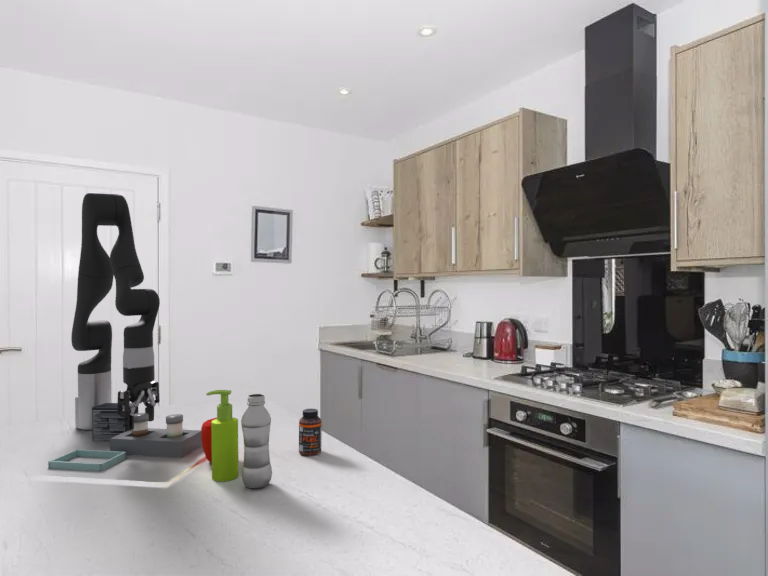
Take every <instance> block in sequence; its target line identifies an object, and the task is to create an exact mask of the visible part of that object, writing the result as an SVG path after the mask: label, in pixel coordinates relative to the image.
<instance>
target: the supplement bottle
mask: <svg viewBox="0 0 768 576" xmlns="http://www.w3.org/2000/svg"><path fill="white" fill-rule="evenodd" d="M322 425H323V424H322V419H321V418H320V416H319V410H318V409H317V408H305V409H303V410H302V417H301V418H300V419H299V420H298V454H300V455H301V456H305V457H313V456H317V455H319V454H320V453H322V435H323V434H322V430H323V429H322V428H323V427H322Z"/></svg>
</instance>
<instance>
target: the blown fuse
mask: <svg viewBox="0 0 768 576" xmlns="http://www.w3.org/2000/svg"><path fill="white" fill-rule="evenodd" d="M133 415H134V429H133V430H132V437H144V436H146V435H148V428H149V421H148V420H149V414H148V413H145V412H138V413H137V414H133Z"/></svg>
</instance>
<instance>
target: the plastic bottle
mask: <svg viewBox="0 0 768 576" xmlns="http://www.w3.org/2000/svg"><path fill="white" fill-rule="evenodd" d="M265 399H266V397H265V394H264V393H254V394H253V393H252V394H248V395H247V403H246V404H247V405H246V406H248V407H247V408H246V410H245V411H244V412H243V415H242V417H241V420H240V423H241V425H240V426H241V431H242V436H243V449H244V451H243V465H242V470H241V479H242V480H241V481H242V483H243V485H244V486H245V487H246V488H249V489H260V488H264V487H266V486H268V485H269V484H270V482H271V480H272V476H273V469H272V464H271V459H270V447H269V446H270V444H269V443H270V431H271V423H272V417H271V414H270V412H269V411H268V410H267V408H266V407H265V406H264V405H265V404H266V400H265Z"/></svg>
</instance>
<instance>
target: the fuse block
mask: <svg viewBox="0 0 768 576" xmlns="http://www.w3.org/2000/svg"><path fill="white" fill-rule="evenodd" d="M183 422H184V415H183V414H180V413H175V414H169V415H166V416H165V424H166V428H152V427H148V435H146V436H144V437H132V430H128V431H126V432H124V433H122V434H119V435H117V436H115V437H113V438H110V441H109V451H119V452H126V456H138V457H139V456H140V457H157V458H159V457H160V458H175V459H176V458H177V459H183V458H185V457H186V456H188V455H190V454H191V453H193V452H194V451H195V450H197V449H199V448H200V447H202V442H201V429H200V430H198V429H194V430H193V429H183Z"/></svg>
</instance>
